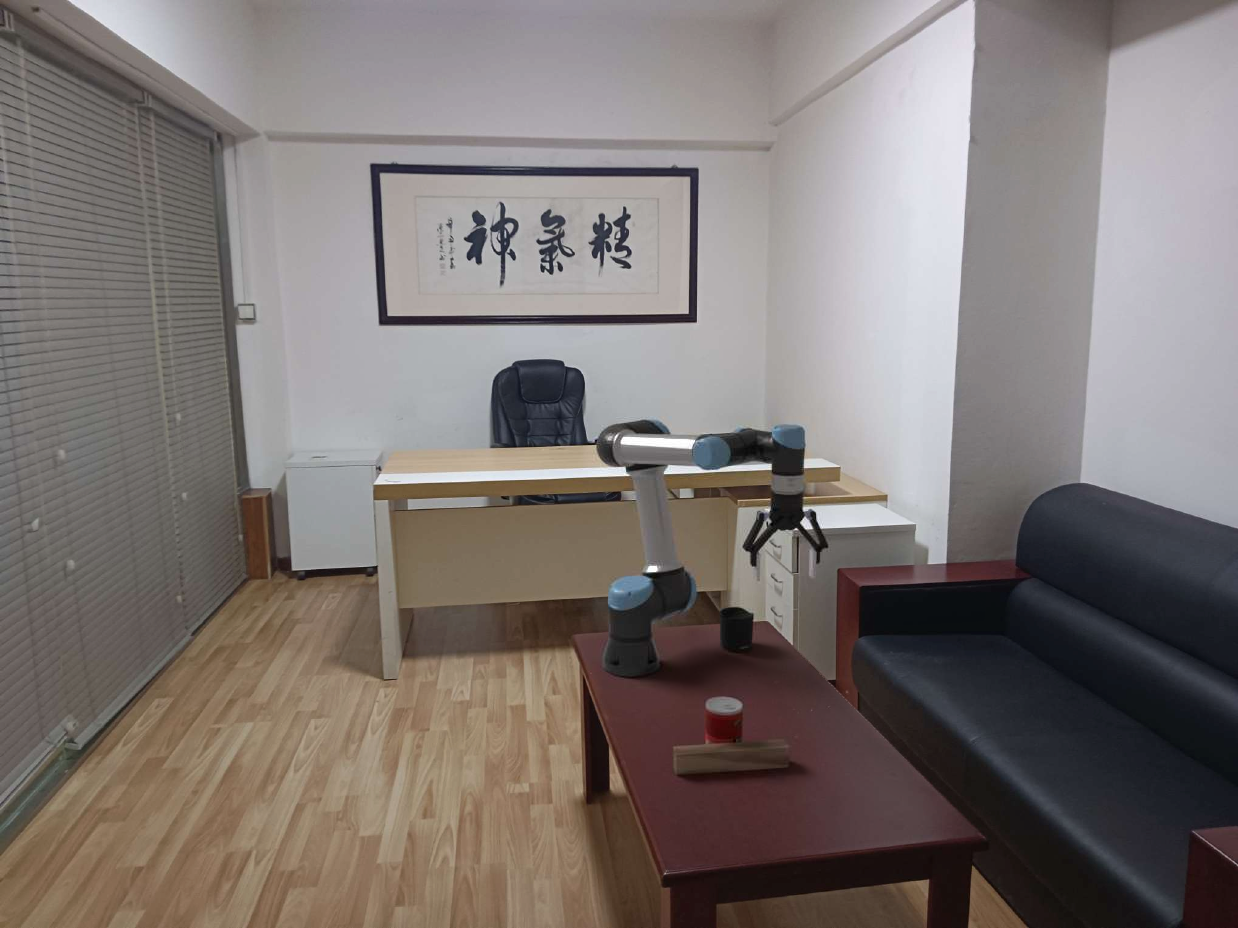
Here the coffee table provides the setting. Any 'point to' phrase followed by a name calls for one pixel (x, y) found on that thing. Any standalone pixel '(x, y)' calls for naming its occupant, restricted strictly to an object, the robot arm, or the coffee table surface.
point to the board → (730, 756)
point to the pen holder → (736, 629)
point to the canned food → (723, 720)
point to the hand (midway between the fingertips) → (784, 578)
